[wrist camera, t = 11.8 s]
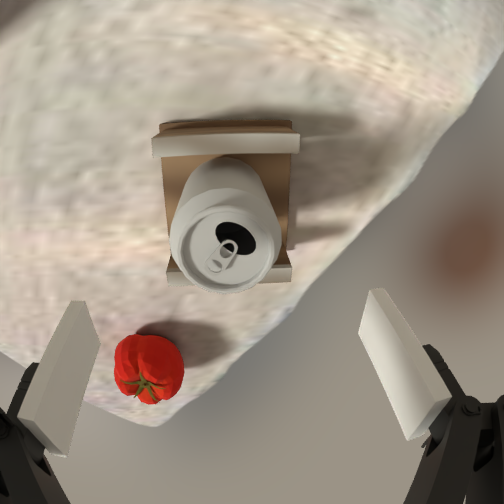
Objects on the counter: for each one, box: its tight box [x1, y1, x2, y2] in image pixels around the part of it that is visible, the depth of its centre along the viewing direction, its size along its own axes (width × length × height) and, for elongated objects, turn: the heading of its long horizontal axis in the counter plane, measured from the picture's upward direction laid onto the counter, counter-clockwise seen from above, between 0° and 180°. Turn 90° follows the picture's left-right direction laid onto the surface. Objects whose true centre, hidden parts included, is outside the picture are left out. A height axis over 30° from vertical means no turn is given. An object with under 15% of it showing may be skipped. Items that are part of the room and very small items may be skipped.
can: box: [169, 157, 282, 294], centre depth 25 cm, size 8×8×12 cm
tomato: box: [114, 334, 184, 404], centre depth 37 cm, size 9×9×8 cm
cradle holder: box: [151, 120, 300, 286], centre depth 28 cm, size 14×12×7 cm
